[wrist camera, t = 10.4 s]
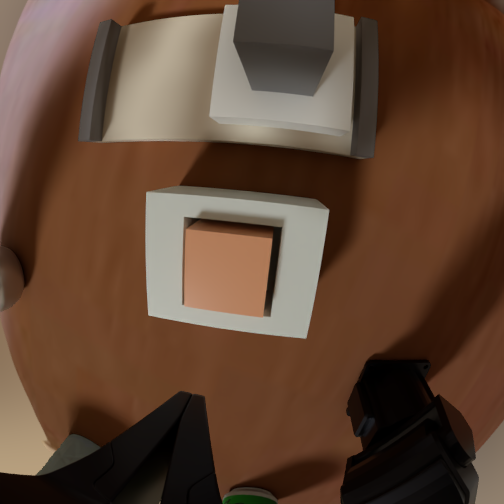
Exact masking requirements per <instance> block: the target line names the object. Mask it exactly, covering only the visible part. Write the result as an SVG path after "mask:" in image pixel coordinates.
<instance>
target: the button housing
mask: <svg viewBox="0 0 504 504" xmlns="http://www.w3.org/2000/svg"><path fill="white" fill-rule="evenodd" d="M328 216H329V209H328V208H327V207H325V206H324V205H323V204H322V203H320V202H319V201H318V200H317V199H312V198H304V197H296V196H288V195H280V194H271V193H262V192H252V191H242V190H231V189H220V188H207V187H194V186H174V187H169V188H164V189H159V190H154V191H149V192H147V194H146V279H147V300H148V315H149V316H154V317H159V318H164V319H170V320H175V321H180V322H186V323H192V324H198V325H204V326H210V327H216V328H223V329H230V330H237V331H244V332H252V333H260V334H268V335H277V336H286V337H296V338H306V337H307V332H308V328H309V323H310V318H311V314H312V309H313V304H314V299H315V293H316V288H317V283H318V277H319V272H320V266H321V260H322V254H323V248H324V242H325V236H326V229H327V223H328ZM200 219H212V220H222V221H232V222H241V223H250V224H259V225H268V226H274V230H273V239H272V247H271V256H270V264H269V272H268V281H267V289H266V297H265V305H264V313H263V318H262V317H254V316H246V315H238V314H231V313H224V312H217V311H210V310H204V309H197V308H191V307H185V306H184V276H185V236H186V229H187V228H188V227H190V226H191V225H193V224H194V223H196V222H197V221H199V220H200Z"/></svg>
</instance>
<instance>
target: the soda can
mask: <svg viewBox="0 0 504 504" xmlns="http://www.w3.org/2000/svg"><path fill="white" fill-rule="evenodd" d="M223 504H278V500H277V499H276V498H275V497H274V496H272V494H271V493H270V492H268V491H266V490H263V489H260V488H253V487H242V488H236V489H233V490H232V491H231V492H229V493H227V494H225V496H224V498H223Z"/></svg>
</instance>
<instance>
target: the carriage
mask: <svg viewBox="0 0 504 504" xmlns="http://www.w3.org/2000/svg"><path fill="white" fill-rule="evenodd" d="M353 76H354V17H350V16H345V15H340V14H335V0H239V4H238V5H225V8H224V13H223V19H222V25H221V32H220V38H219V44H218V51H217V58H216V65H215V72H214V80H213V88H212V96H211V105H210V113H209V117H211V118H212V119H213V120H215V121H216V122H218V123H219V124H235V125H250V126H263V127H273V128H283V129H292V130H300V131H307V132H314V133H321V134H328V135H334V136H342V135H344V134H346V133H348V132H350V127H351V114H352V98H353Z"/></svg>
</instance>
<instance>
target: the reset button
mask: <svg viewBox="0 0 504 504" xmlns="http://www.w3.org/2000/svg"><path fill="white" fill-rule="evenodd" d="M273 230H274V226H268V225H259V224H250V223H241V222H232V221H222V220H212V219H200V220H199V221H197V222H196V223H194V224H193V225H191V226H190V227H188V228H187V229H186V236H185V276H184V306H185V307H191V308H197V309H204V310H210V311H217V312H224V313H231V314H238V315H246V316H254V317H262V318H263V313H264V305H265V297H266V289H267V281H268V272H269V264H270V256H271V247H272V239H273Z"/></svg>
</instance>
